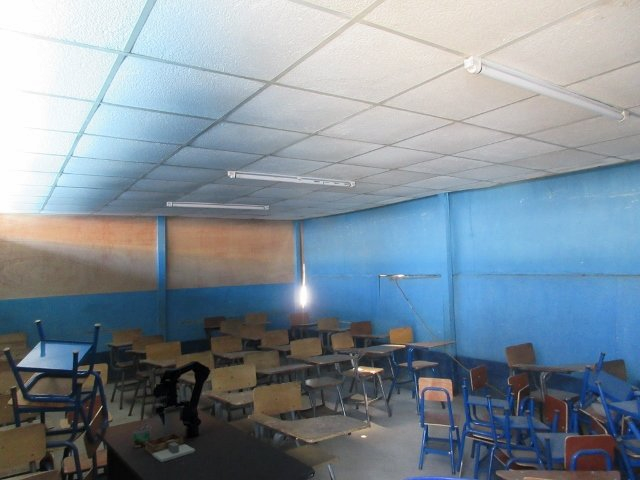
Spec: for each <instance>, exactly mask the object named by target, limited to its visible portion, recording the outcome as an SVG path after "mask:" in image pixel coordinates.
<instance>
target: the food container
mask: <svg viewBox="0 0 640 480" xmlns="http://www.w3.org/2000/svg"><path fill="white" fill-rule="evenodd" d="M152 429H153V427H152V425H151V423H149V422H148V423H147V422H146V423H145V425H144V426H140V427H139V428H138V429H133V431H132V435H133V441H134V448H135V449H136V448H137V449H138V448H143V447H144V448H145V441H148V440H151V433H152V431H151V430H152Z"/></svg>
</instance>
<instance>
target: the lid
mask: <svg viewBox="0 0 640 480" xmlns="http://www.w3.org/2000/svg"><path fill="white" fill-rule="evenodd" d="M168 447H169V449H166V450H163V451H159V452H156V453H153V455H152V457H154V459H156V460H158V461H159V462H161V463H163V462H167V461H170V460H173V459H177V458H180V457H183V456H187V455H190V454H194V453H196V452H195V451H196V449H195V448H193V447H191V446H189V445H187V444H185V443H183V445H180V446H179V445H178V444H177V443H175V442H173V443H169V444H168Z"/></svg>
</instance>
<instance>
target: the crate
mask: <svg viewBox="0 0 640 480" xmlns="http://www.w3.org/2000/svg"><path fill="white" fill-rule="evenodd" d="M168 440H172V441H168ZM167 441H168V442H167ZM173 442H175V443H177V444H178V445H179V446H180V445H183V444H184V437H183V436H180V435H179V434H178V433H171V434H168V435H167V434H166V435H163V436H159V437H155V438H153V439H150V440H148V441H145V446H144V449H145V451H146V452H147V453H149V454H150V455H151V456H153V453H156V452H159V451H163V450H166V449H169V447H168V444H169V443H173Z"/></svg>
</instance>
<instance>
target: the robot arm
mask: <svg viewBox="0 0 640 480" xmlns="http://www.w3.org/2000/svg"><path fill="white" fill-rule="evenodd" d="M191 371H192V373H194V376H193V377H194V381H195V382H194V385H193V389H192V392H191V396H190V399H189V400H187V399H182V400H179V402H178V397H179V394H178V384H180V383H181V381H179V379H180V378H181V377H182V376H183V375H184V374H186V373H187V374H188V373H189V372H191ZM210 374H211V370H210V368H209V367H208V366H206V365H204V364H202V363H200V361H197V360H196V361H194V360H191V361H190V362H189V363H185V364H184V365H181V366H179V367H175V368H169V369H166V370H164V373H163V375H162V376H161V379H160V381H159V383H155V387H154V388H153V390H152V393H153V396H154V398H156V399H158V404H159V405H155V406H153V407H152V412H153V413H154V414H157V415H158V416H159V419H160V421H161V423H162V426H165V423H166V421H165V419H166V418H165V417H166V416H165V415H166V414H165V412H164V411H166V410H169V409H174V408H179V415H178V416H179V417H178V418H179V422H182V424H183V426H184V427H185V429H184V433H185V435H184V437H186V438H188V439H193V438H197V437H199V436H200V432H199V430H200V429H199V428H200V427H199V426H201V425H202V424H201V423H202V420H201V419H200V417H199V411H198V405H199V402H200V399H201V394H202V391H203V387H204V383H205V382H206V381H207V380H208V378H209V375H210Z"/></svg>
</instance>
